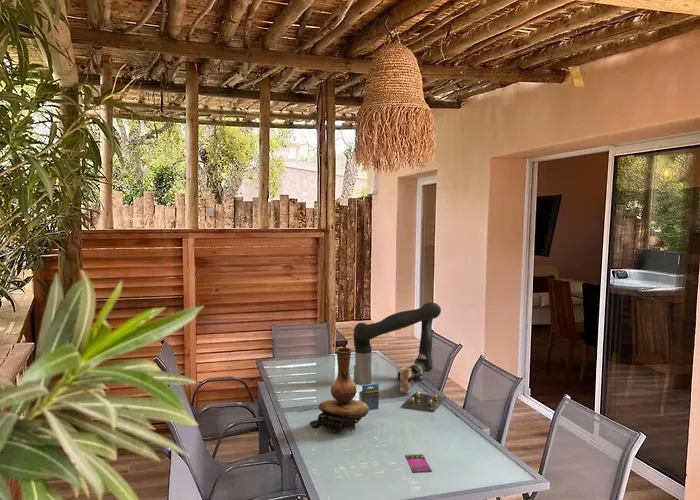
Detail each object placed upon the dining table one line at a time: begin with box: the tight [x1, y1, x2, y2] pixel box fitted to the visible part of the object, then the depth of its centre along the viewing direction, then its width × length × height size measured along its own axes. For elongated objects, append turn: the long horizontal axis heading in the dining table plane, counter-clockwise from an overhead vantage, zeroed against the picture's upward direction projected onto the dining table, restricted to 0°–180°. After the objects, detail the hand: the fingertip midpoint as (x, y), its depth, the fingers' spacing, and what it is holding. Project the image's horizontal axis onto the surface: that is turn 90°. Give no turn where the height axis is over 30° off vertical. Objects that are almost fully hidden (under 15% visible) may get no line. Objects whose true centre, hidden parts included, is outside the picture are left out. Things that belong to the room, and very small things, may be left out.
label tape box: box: [358, 383, 380, 411], centre depth 264 cm, size 9×4×12 cm, turn 112°
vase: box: [309, 347, 370, 435], centre depth 240 cm, size 24×22×35 cm
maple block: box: [399, 366, 412, 394], centre depth 287 cm, size 4×4×12 cm
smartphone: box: [404, 453, 433, 474], centre depth 203 cm, size 7×15×1 cm, turn 5°
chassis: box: [401, 391, 446, 413], centre depth 271 cm, size 16×20×4 cm
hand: (404, 379), depth 284 cm, fingers closed on maple block, 4 cm apart
